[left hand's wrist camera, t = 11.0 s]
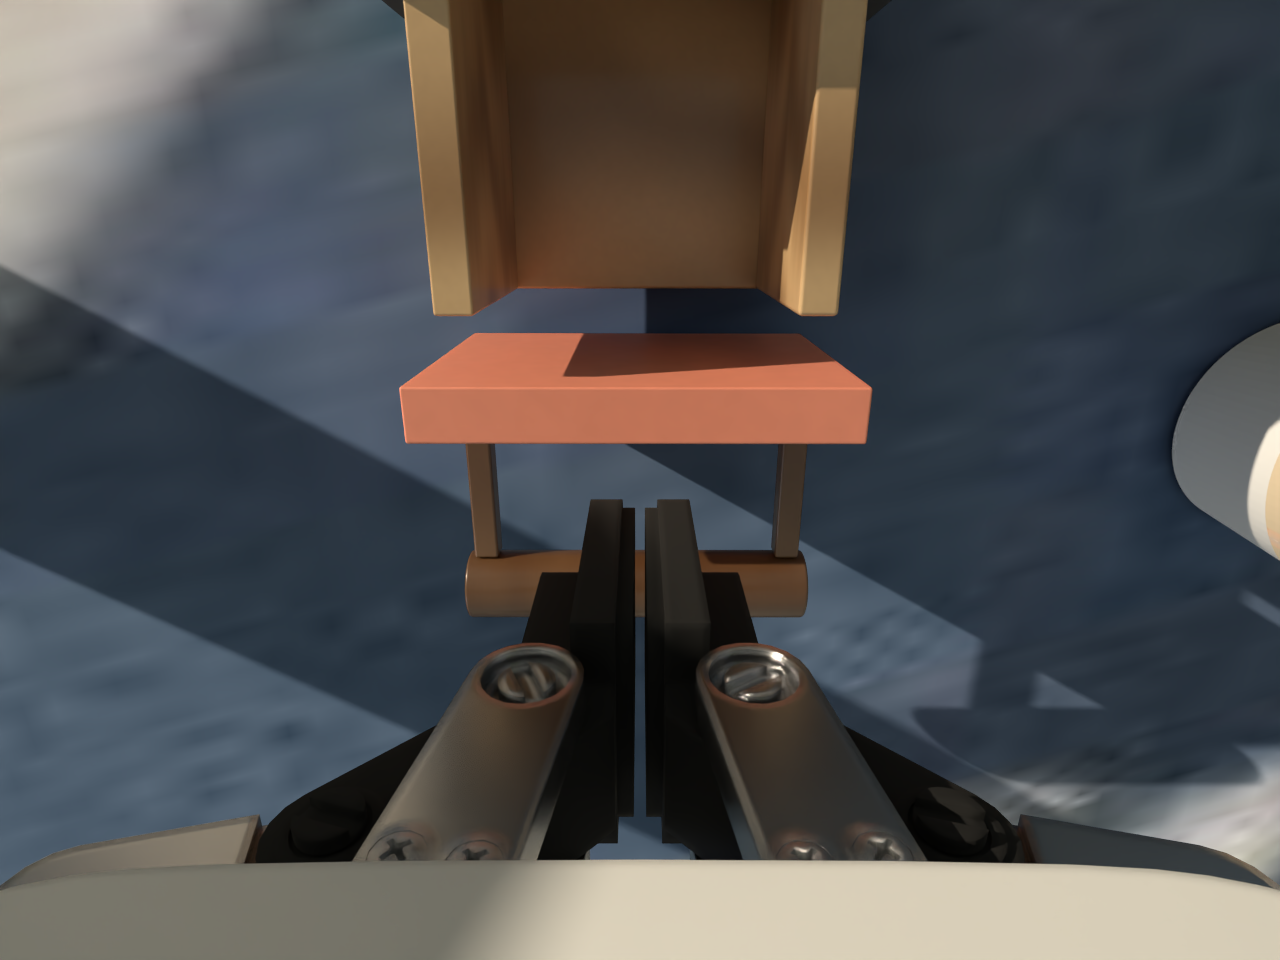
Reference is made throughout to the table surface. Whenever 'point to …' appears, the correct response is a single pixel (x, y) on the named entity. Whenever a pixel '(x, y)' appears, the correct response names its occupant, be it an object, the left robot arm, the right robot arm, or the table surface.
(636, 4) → the drawer
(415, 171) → the table surface
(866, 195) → the table surface
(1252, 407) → the coffee cup
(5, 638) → the table surface
